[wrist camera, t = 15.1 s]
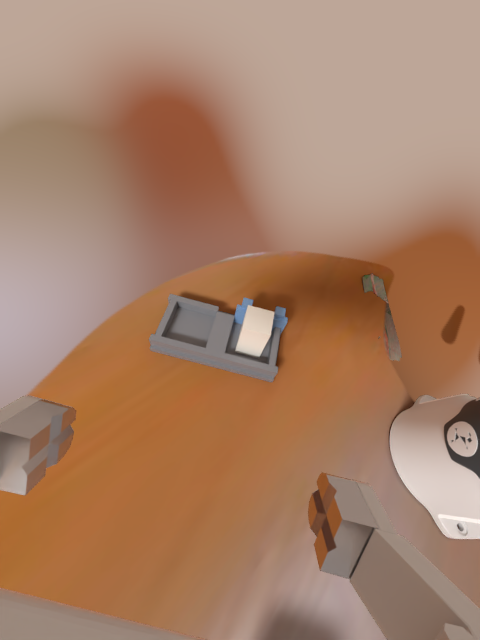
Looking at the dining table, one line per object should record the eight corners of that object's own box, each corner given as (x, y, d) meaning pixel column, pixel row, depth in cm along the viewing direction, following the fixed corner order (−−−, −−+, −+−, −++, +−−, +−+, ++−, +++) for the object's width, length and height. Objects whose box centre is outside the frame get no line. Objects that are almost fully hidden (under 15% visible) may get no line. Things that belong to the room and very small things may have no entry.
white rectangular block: (262, 337, 44) (274, 311, 37) (258, 358, 42) (270, 335, 35) (240, 331, 44) (248, 304, 37) (234, 352, 42) (242, 327, 35)
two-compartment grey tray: (280, 327, 47) (290, 309, 42) (271, 382, 41) (282, 369, 36) (173, 299, 46) (171, 278, 41) (150, 350, 41) (144, 333, 36)
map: (379, 277, 58) (382, 274, 57) (404, 362, 47) (407, 360, 46) (358, 274, 57) (361, 271, 57) (378, 358, 47) (381, 356, 46)
